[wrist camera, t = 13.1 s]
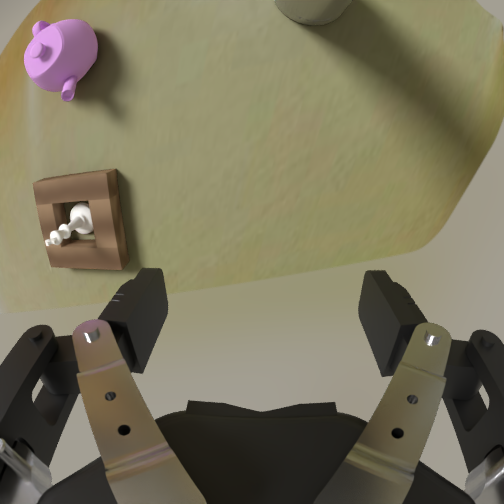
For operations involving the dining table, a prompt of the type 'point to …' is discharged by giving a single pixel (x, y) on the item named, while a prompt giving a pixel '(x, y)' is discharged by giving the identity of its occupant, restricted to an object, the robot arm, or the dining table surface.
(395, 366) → the robot arm
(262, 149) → the dining table surface
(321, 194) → the dining table surface
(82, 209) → the chess piece
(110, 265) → the socket block
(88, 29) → the teapot
